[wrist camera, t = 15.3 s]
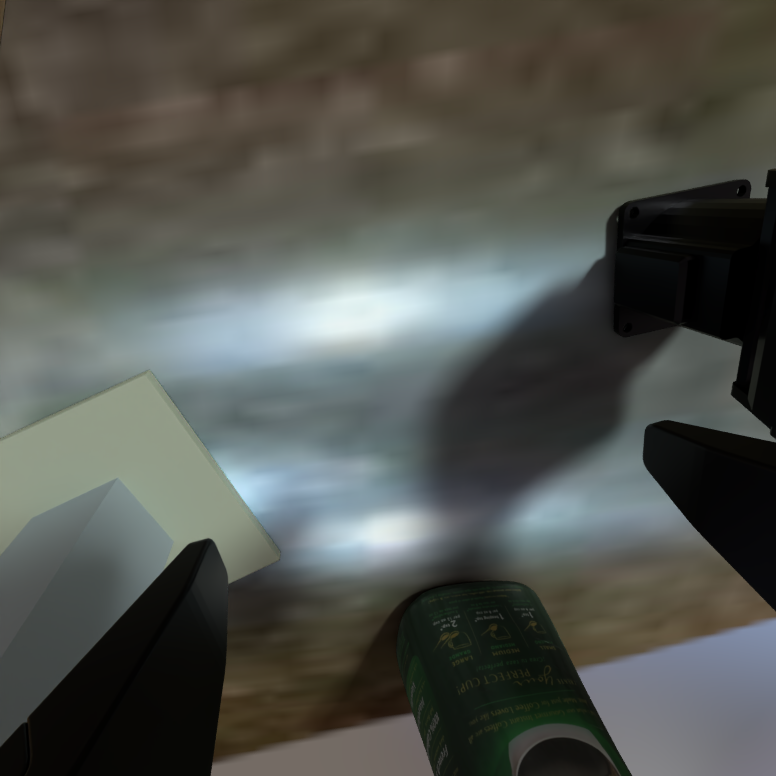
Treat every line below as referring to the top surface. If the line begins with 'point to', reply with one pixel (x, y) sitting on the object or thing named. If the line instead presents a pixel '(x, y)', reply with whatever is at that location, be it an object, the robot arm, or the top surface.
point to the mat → (131, 472)
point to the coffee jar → (498, 687)
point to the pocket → (1, 14)
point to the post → (70, 589)
